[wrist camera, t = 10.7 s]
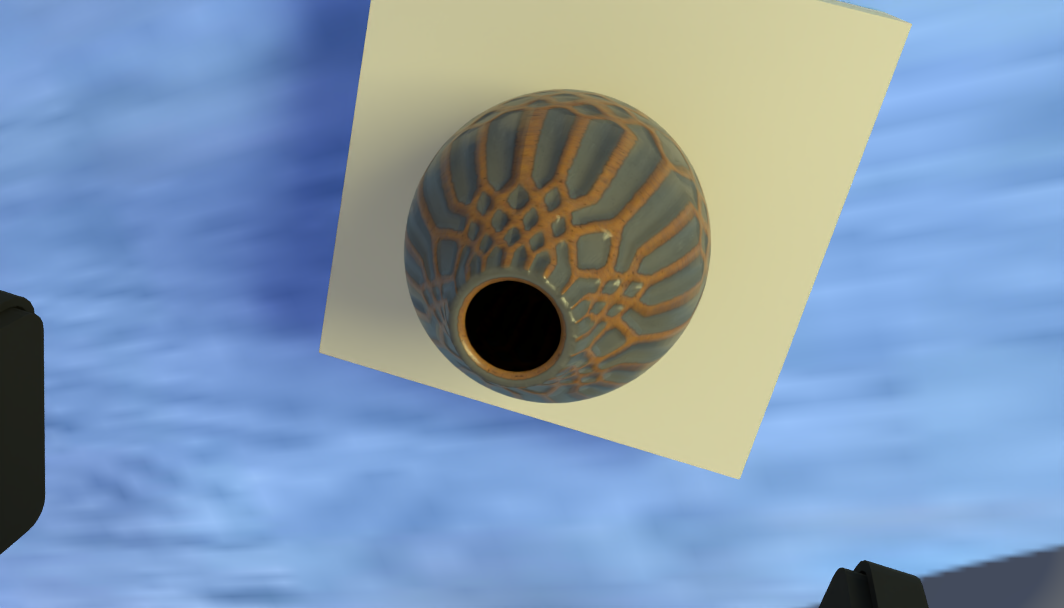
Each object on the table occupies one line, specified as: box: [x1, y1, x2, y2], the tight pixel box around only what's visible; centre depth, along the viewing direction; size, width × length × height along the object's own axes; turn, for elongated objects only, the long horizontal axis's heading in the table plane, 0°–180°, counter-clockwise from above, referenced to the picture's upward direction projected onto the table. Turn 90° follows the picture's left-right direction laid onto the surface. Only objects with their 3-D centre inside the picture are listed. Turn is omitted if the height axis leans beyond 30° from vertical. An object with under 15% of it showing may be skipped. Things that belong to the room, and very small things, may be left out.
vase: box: [404, 89, 711, 403], centre depth 20 cm, size 7×7×9 cm
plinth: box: [319, 0, 912, 479], centre depth 26 cm, size 13×13×4 cm
